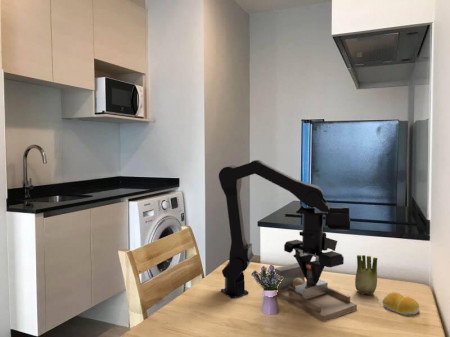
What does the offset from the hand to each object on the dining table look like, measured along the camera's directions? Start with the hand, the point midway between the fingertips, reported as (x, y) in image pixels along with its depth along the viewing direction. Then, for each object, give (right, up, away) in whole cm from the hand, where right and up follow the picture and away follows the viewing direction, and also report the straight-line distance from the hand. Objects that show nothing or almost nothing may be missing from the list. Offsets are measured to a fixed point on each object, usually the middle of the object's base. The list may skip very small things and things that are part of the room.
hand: (311, 281), depth 108 cm
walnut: (-3, -2, +5) cm, 6 cm away
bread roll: (+24, -7, -4) cm, 25 cm away
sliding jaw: (0, -4, 0) cm, 4 cm away
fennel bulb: (+18, -6, +6) cm, 20 cm away
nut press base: (0, -6, 0) cm, 6 cm away
